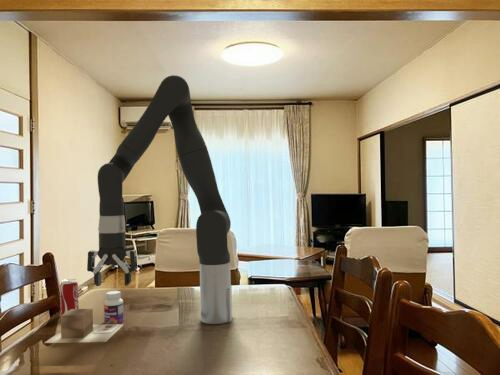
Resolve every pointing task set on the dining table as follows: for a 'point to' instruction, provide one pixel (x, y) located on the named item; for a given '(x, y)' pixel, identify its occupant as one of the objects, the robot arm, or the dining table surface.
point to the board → (89, 338)
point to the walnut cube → (76, 323)
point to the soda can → (68, 295)
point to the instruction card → (106, 328)
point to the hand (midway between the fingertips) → (112, 285)
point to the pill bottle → (113, 308)
